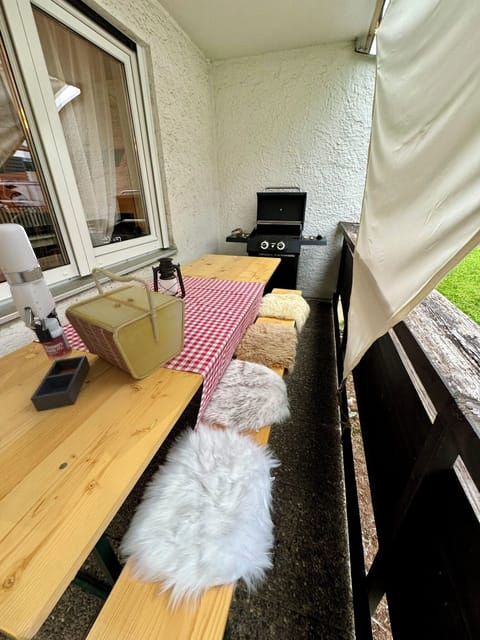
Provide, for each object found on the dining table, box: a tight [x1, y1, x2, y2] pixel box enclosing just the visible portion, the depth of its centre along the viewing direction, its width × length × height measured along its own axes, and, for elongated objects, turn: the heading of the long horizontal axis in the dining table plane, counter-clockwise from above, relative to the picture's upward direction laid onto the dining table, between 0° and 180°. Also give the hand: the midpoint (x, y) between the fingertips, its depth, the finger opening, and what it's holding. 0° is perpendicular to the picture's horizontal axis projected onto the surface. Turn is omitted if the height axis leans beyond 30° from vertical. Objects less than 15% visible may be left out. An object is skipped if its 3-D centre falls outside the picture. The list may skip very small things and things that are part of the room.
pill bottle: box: [36, 318, 73, 362], centre depth 75 cm, size 6×6×11 cm
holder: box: [29, 354, 91, 412], centre depth 77 cm, size 9×17×5 cm, turn 14°
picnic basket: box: [64, 267, 186, 380], centre depth 84 cm, size 29×26×30 cm
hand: (51, 335), depth 74 cm, fingers closed on pill bottle, 6 cm apart
